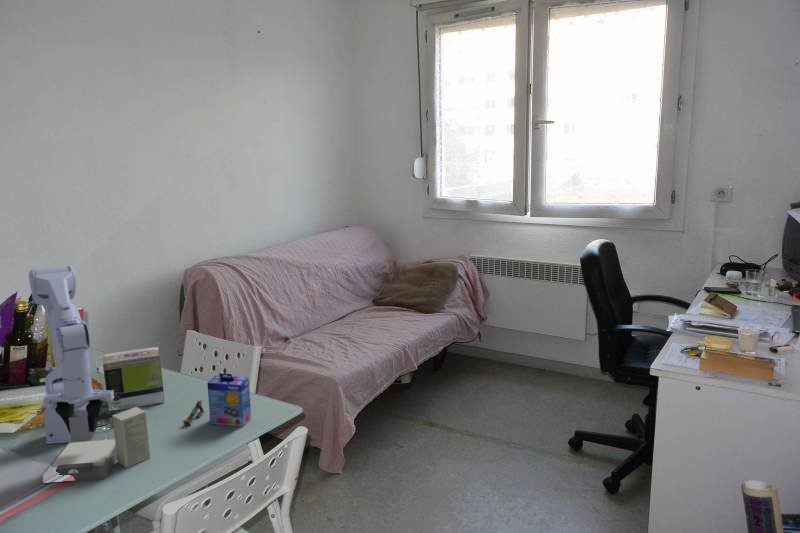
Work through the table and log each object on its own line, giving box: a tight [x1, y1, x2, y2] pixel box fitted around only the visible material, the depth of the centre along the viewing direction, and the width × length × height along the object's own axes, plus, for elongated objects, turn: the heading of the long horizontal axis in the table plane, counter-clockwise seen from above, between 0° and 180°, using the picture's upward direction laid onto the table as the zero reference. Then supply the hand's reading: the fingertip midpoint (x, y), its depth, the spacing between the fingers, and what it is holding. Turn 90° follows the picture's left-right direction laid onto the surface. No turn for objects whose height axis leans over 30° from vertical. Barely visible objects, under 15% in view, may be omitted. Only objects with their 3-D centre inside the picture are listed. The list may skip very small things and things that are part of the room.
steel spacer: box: [69, 410, 97, 443], centre depth 138 cm, size 4×4×6 cm
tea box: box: [102, 346, 166, 411], centre depth 173 cm, size 15×10×15 cm, turn 115°
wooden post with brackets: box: [182, 399, 205, 426], centre depth 162 cm, size 2×8×4 cm, turn 166°
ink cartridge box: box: [206, 373, 252, 427], centre depth 160 cm, size 10×6×14 cm, turn 81°
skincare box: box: [111, 407, 151, 468], centre depth 140 cm, size 6×4×12 cm
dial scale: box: [50, 438, 117, 482], centre depth 139 cm, size 13×14×3 cm
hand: (83, 430), depth 138 cm, fingers closed on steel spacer, 4 cm apart
